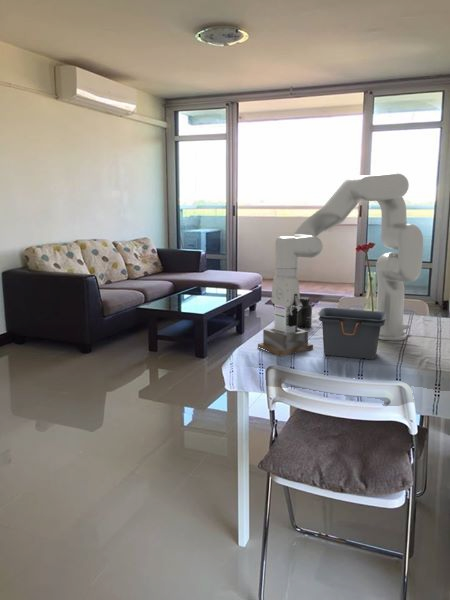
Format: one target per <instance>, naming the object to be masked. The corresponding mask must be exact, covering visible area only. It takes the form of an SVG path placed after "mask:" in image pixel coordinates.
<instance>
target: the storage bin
mask: <svg viewBox="0 0 450 600" xmlns="http://www.w3.org/2000/svg"><path fill="white" fill-rule="evenodd" d="M317 315H318V316H319V317H318V321H320V322H321V323H322V324H321V326H322V343H323V344H322V345H323V354H324V355H325V356H334V357H341V358H343V357H345V358H352V359H353V358H354V359H361V358H366V359H365V360H370V359H373V360H375V359H376V357H377V356H376V355H377V351H378V345H379V340H380V339H379V333H380V328H381V326H383V325H384V323H385V319H386V313H384V312H378V311H377V310H363V309H353V308H352V309H350V308H337V307H323V308H321V310H319V312H318V314H317Z"/></svg>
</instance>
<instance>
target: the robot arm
mask: <svg viewBox="0 0 450 600" xmlns="http://www.w3.org/2000/svg"><path fill="white" fill-rule="evenodd" d="M408 191H409V180H408V178H407V177H406V176H405V175H404V174H401V173H397V172H396V173H394V172H393V173H381V174H374V175H373V174H372V175H370V174H368V175H367V174H366V175H355V176H354V175H353V176H350V177H348V178H347V179H345V180H344V182H342V183H341V185H340V186H339V187H338V189H337V190H336V191H335V192H334V194H332V196H331V197H330V198H329V200H327V202H326V203H325V204H324V205H323V206H322V207H321V208H319V209H318V210H317V211H316V212H315V213H313V214H312V215H310V216H309V217H308V218H306V219H305V220H304V221H303V222H302V223H301V224H300V225H299V227H297V228H296V230H295V231H294V233H292V235H282V236H281V235H280V236H277V237H276V239H275V243H274V245H275V246H274V247H275V254H274V255H275V261H274V262H275V264H274V265H275V267H274V268H275V269H274V270H275V272H274V273H275V275H274V277H273V279H272V285H271V286H272V287H271V288H272V289H271V297H270V301H271V303H272V305H273V307H274V308H273V310H274V311H275V304H277V305H280V306H284V307H288V308H289V312H290V315H289V326H290V327H291V326H296V325H297V314H298V312H299V311H300V309H301V308H302V307H303V305H302V303H301V302H300V300H299V299H300V297H301V296H300V283H299V276H298V266H299V265H298V260H299V258H315V257H317V256H319V255H320V254H321V253H322V250H323V249H324V248H323V246H324V245H323V241H322V240H321V239H320V238H319V237H318V236H319V235H321V234H322V233H324V232H325V231H327V230H330V229H332V228H334V227H337V226H338V225H340V224H342V223H343V222H345V220H346V219H347V218H348V216H349V215H350V213H352V212H353V210H354V209H355V208H356V206H357V205H358V204H359V203H360V202H377V203H378V205H379V207H380V213H381V228H380V229H381V231H380V239H381V240H380V241H381V244H382V246H383V247H385V248H387V249H389V250H390V249H391V250H394V251H395V250H396V251H397V252H385V253H383V254H382V255H380V256H379V257H378V258H377V260H376V264H375V270H376V279H377V297H376V299H377V300H376V311H378V312H384V313H386V319H385V323H384V325H383V326H381V328H380V333H379V340H382V341H391V342H392V341H402V340H405V339H407V333H405V332H404V331H405V330H408V329H410V327H411V326H410V324H409V323H405V324H404V323H403V322H404V309H405V308H404V307H405V306H404V305H405V293H406V292H405V284H404V283H411V282H412V283H413V282H415V281H416V280H417V279H418V278H419V277H420V275H421V273H422V268H423V253H424V252H423V249H424V236H423V235H424V234H423V233H422V231H421V229H420V227H419V226H417V225H416V224H414V223H413V224H412V223H408V222H407V205H406V202H405V200H404V196H405V195H406V193H408ZM292 308H294V310H292Z"/></svg>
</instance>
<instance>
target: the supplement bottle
mask: <svg viewBox="0 0 450 600" xmlns="http://www.w3.org/2000/svg"><path fill="white" fill-rule="evenodd" d="M299 300H300V302H301V303H302V305H303V307H302V308H301V309H300V311H299V312H298V314H297V328H299V329H310V328H311V327H312V317H313V306H312V305H311V304H310V303H311V301H310V300H311V298H310V297H309V296H308V297H307V296H300V299H299Z"/></svg>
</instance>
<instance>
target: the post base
mask: <svg viewBox="0 0 450 600" xmlns="http://www.w3.org/2000/svg"><path fill="white" fill-rule="evenodd" d="M262 331H263V336H262V337H263V338H262V340H263V342H260V343H257V348H258V347H260V348H263V349H265V350H267V351H269V352H270V354H272V355H275V356H277V357H282V356H287V355H288V356H289V355H291V354H295V352H297V353H300V352H299V351H301V352H304V351H303V350H306V351H309V350H308V349H310V350H313V349H314V344H312V343H309V331H308V330H304V329H303V328H298V327H297V332H295V333H290V334H285V335H283V334H280V333H277V332H275V326H274V327H270V328H269V327H268V328H263V330H262ZM260 348H259V349H260ZM265 350H264V351H265ZM267 351H266V352H267ZM269 352H268V353H269Z"/></svg>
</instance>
